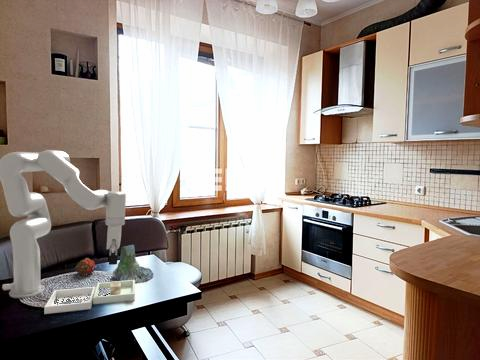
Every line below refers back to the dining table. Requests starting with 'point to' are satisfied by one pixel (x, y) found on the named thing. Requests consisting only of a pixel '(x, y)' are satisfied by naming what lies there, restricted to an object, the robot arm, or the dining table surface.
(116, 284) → the birch block
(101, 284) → the sage bin
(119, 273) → the tree stump
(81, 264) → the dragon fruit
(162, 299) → the dining table surface
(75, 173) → the robot arm
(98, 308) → the dining table surface
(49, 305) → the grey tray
